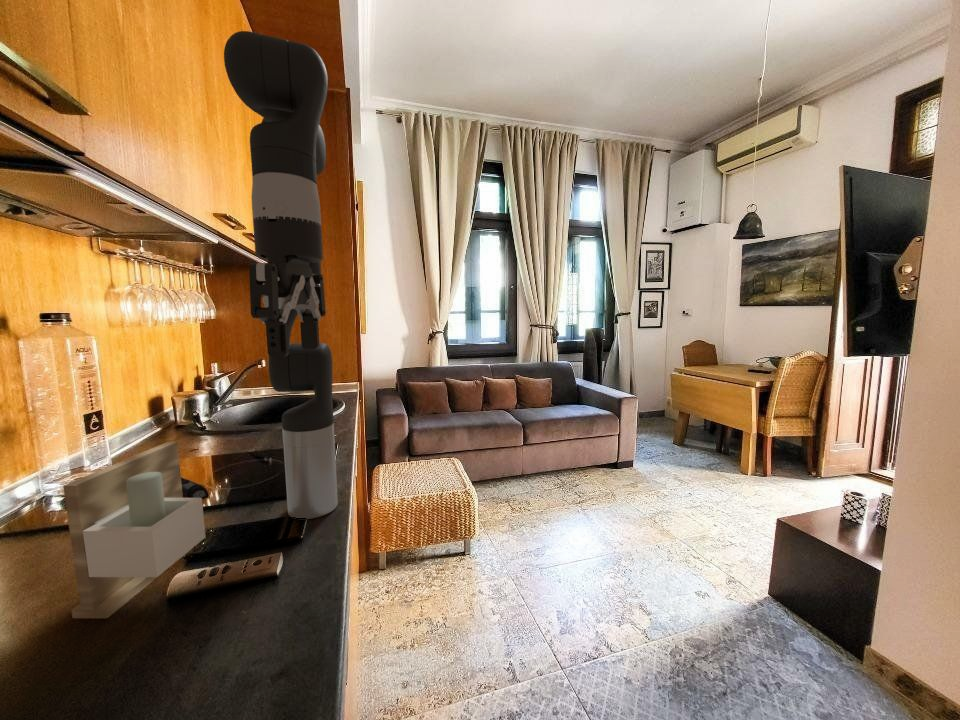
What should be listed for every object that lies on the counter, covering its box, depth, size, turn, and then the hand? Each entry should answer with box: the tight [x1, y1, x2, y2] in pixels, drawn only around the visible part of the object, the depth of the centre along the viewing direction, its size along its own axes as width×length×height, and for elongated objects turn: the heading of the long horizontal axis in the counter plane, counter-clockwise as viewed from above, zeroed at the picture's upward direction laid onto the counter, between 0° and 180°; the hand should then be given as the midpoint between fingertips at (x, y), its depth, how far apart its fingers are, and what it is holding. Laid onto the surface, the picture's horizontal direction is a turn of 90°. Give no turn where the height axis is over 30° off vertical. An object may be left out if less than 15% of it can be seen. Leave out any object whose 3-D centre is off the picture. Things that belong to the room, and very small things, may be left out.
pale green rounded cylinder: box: [126, 472, 166, 527], centre depth 52 cm, size 4×4×10 cm
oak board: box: [62, 441, 191, 619], centre depth 56 cm, size 16×4×18 cm, turn 0°
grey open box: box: [83, 497, 206, 578], centre depth 52 cm, size 9×9×6 cm
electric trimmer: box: [181, 476, 210, 500], centre depth 84 cm, size 4×16×3 cm, turn 58°
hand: (296, 352), depth 49 cm, fingers open, 8 cm apart
